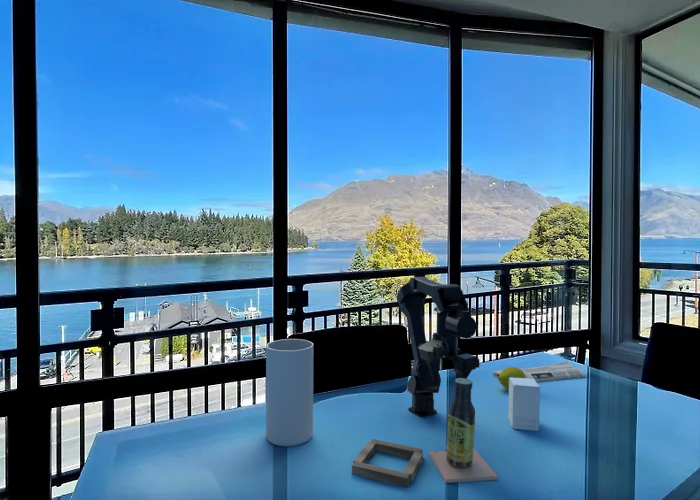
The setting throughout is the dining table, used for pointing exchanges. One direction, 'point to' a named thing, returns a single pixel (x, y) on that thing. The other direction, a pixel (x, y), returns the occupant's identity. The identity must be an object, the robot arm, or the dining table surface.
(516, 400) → the supplement box
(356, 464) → the bottle holder
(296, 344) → the cylinder vase
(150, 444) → the dining table surface
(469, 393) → the sauce bottle
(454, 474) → the tile
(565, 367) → the newspaper
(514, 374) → the lemon
